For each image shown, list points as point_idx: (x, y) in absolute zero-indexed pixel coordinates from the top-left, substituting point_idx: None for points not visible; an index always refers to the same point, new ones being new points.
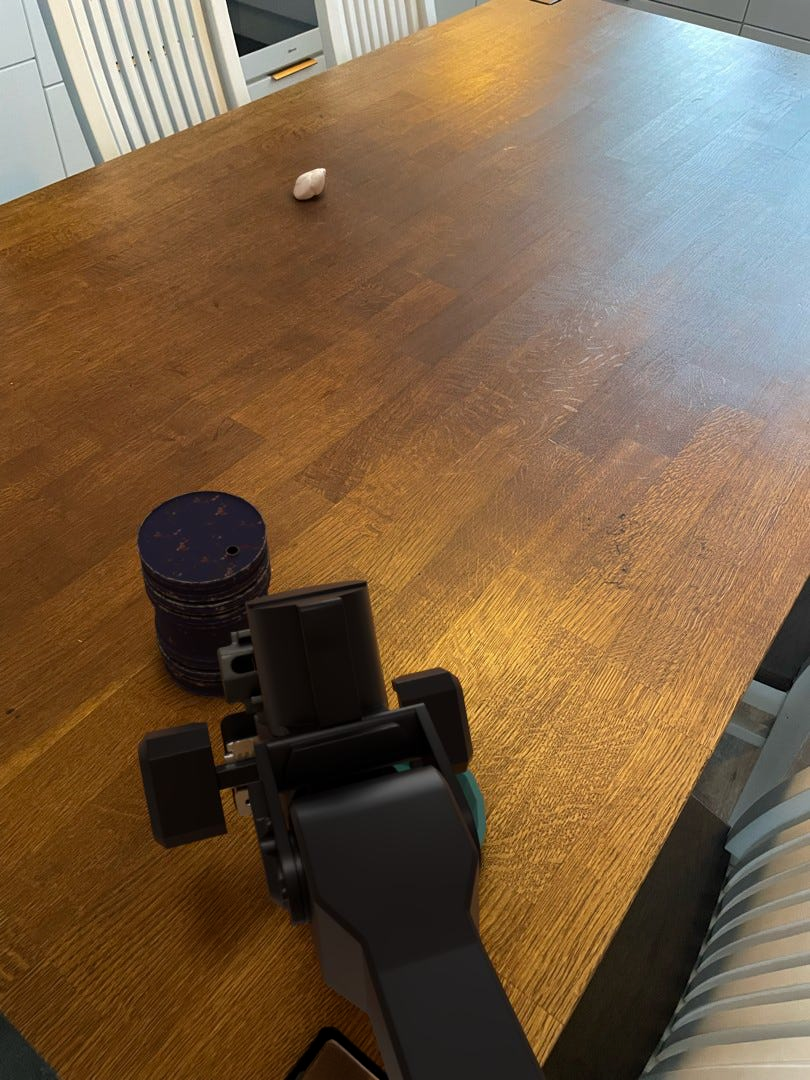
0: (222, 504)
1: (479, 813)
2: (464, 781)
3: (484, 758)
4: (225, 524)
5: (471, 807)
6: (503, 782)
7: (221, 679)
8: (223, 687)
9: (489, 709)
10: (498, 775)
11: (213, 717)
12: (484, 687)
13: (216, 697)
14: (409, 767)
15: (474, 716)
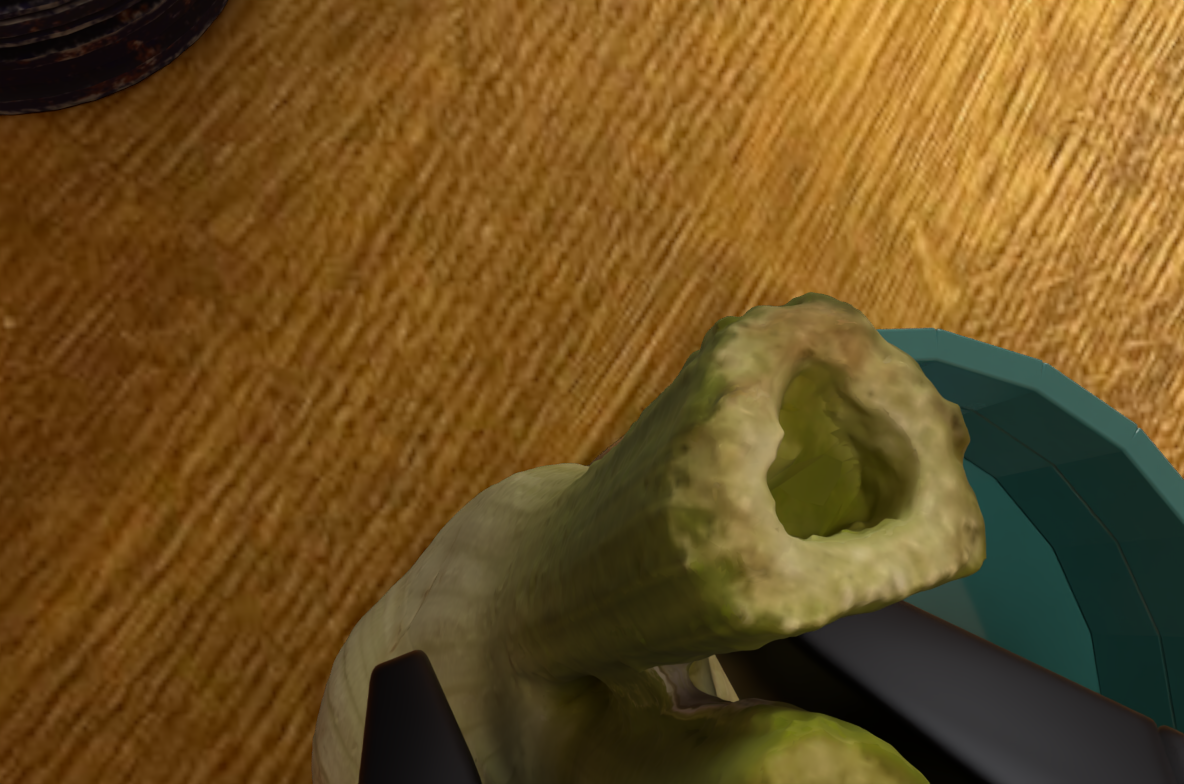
0: None
1: None
2: (1159, 533)
3: (1095, 354)
4: None
5: (1156, 617)
6: (1164, 444)
7: (7, 43)
8: (33, 73)
9: (1093, 158)
10: (1146, 418)
11: (10, 211)
12: (1068, 70)
13: (12, 113)
14: None
15: (1047, 187)
